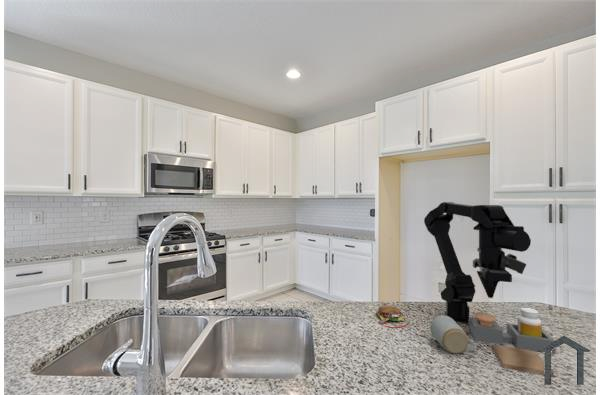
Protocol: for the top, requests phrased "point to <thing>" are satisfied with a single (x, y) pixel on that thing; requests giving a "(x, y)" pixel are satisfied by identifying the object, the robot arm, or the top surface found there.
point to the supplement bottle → (529, 323)
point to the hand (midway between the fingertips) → (490, 297)
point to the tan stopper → (485, 318)
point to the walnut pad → (520, 359)
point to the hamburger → (390, 315)
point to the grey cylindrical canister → (450, 335)
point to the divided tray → (509, 336)
